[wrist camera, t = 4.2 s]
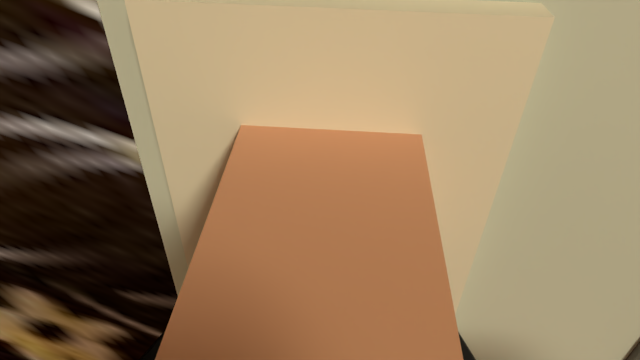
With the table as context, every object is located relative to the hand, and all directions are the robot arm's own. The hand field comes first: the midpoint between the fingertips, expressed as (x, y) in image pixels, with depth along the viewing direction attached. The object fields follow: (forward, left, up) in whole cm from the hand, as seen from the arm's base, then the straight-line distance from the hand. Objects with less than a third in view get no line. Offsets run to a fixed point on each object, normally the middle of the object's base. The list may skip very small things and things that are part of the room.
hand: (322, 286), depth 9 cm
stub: (0, 0, -1) cm, 1 cm away
